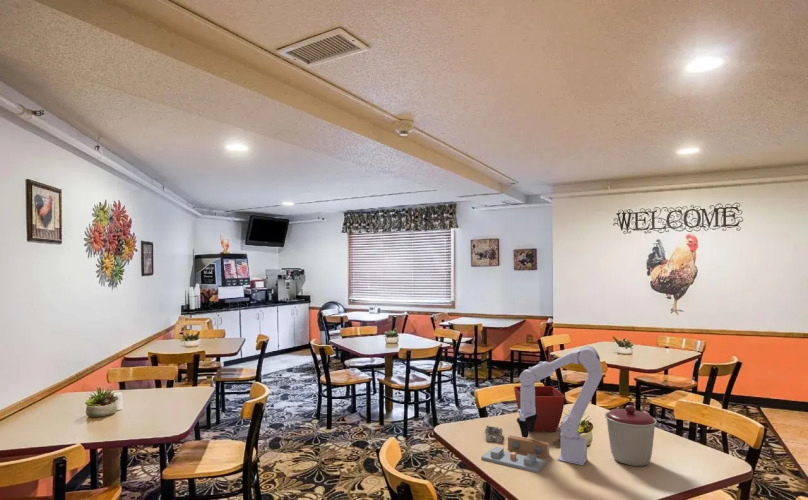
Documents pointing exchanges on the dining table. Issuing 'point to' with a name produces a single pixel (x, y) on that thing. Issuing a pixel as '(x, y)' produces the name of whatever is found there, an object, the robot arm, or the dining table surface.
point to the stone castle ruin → (493, 434)
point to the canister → (631, 435)
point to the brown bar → (528, 446)
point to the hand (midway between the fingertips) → (527, 434)
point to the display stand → (514, 459)
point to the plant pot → (545, 407)
